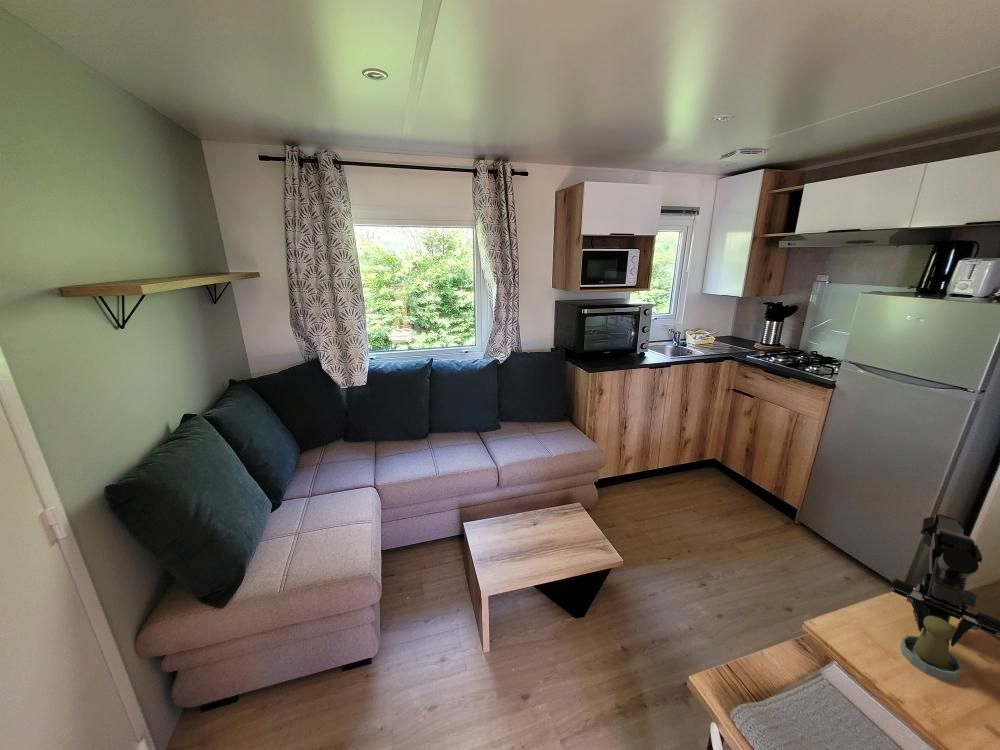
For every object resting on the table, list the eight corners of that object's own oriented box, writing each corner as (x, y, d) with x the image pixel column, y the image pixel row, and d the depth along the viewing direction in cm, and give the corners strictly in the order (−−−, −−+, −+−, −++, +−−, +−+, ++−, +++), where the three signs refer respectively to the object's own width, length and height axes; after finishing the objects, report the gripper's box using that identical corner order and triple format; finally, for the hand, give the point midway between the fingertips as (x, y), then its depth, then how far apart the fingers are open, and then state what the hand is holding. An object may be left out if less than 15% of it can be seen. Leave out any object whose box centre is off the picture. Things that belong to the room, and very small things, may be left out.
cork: (955, 665, 94) (966, 631, 92) (933, 668, 94) (944, 633, 91) (926, 643, 100) (936, 610, 97) (906, 645, 100) (915, 612, 97)
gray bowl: (897, 636, 104) (899, 629, 104) (952, 657, 98) (954, 649, 97) (904, 664, 97) (906, 656, 96) (963, 689, 90) (966, 681, 90)
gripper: (899, 553, 101) (884, 609, 97) (1015, 595, 87) (1003, 663, 83) (897, 563, 107) (883, 616, 103) (1004, 604, 93) (993, 667, 89)
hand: (935, 638), depth 95 cm, fingers open, 5 cm apart
